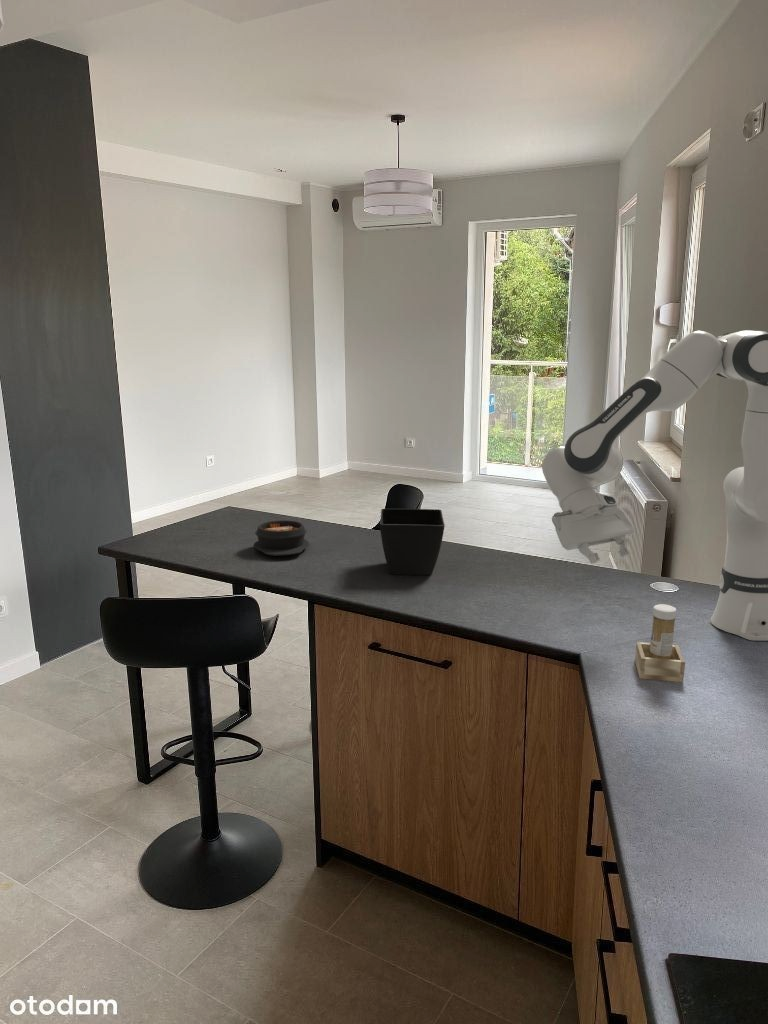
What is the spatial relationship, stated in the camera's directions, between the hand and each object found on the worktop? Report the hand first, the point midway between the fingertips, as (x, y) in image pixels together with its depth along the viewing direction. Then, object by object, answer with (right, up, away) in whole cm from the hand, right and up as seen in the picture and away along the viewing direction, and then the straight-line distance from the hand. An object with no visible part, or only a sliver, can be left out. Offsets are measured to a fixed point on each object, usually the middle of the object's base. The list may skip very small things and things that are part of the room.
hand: (611, 558), depth 166 cm
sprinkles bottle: (+7, -23, -11) cm, 26 cm away
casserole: (-86, -2, +78) cm, 116 cm away
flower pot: (-44, -7, +58) cm, 73 cm away
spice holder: (+7, -23, -10) cm, 26 cm away
